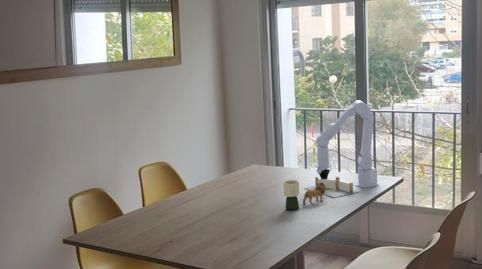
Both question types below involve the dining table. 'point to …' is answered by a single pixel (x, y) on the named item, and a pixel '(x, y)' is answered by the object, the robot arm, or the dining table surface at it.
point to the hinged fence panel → (326, 182)
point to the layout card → (333, 191)
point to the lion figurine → (315, 193)
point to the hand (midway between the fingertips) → (324, 183)
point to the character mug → (291, 194)
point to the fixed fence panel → (344, 185)
